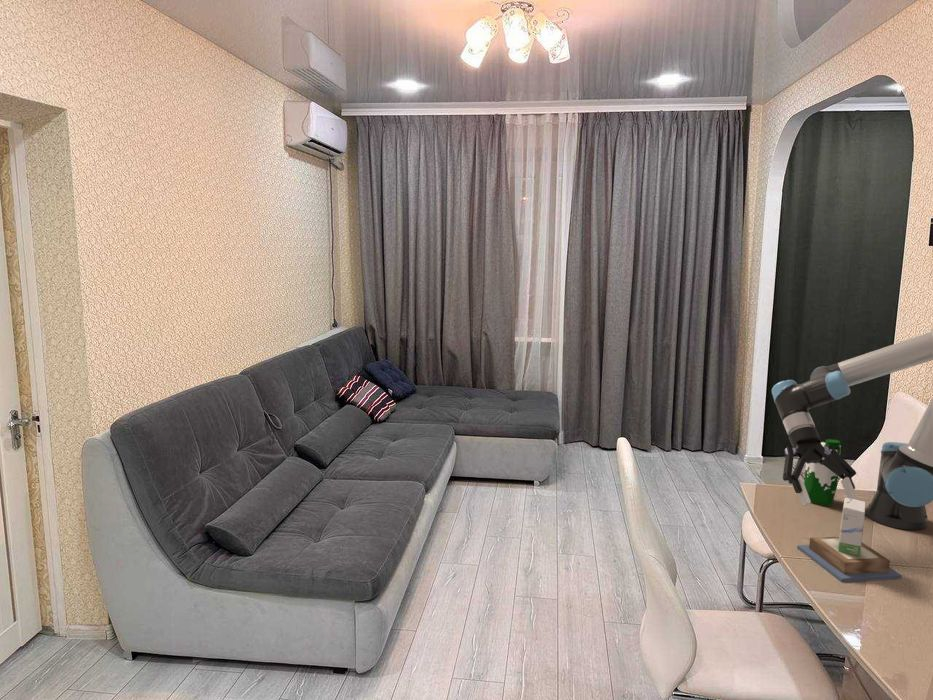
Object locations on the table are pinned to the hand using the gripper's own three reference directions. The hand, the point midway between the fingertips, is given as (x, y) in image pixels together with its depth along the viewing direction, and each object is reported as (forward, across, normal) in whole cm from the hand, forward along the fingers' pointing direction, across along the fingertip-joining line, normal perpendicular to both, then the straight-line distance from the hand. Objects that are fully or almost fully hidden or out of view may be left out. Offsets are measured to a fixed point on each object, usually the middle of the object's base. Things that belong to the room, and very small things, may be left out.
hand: (830, 503), depth 182 cm
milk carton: (-13, -20, -32) cm, 39 cm away
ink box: (+12, 0, 0) cm, 12 cm away
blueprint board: (+15, 0, -3) cm, 15 cm away
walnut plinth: (+15, 0, -3) cm, 15 cm away
